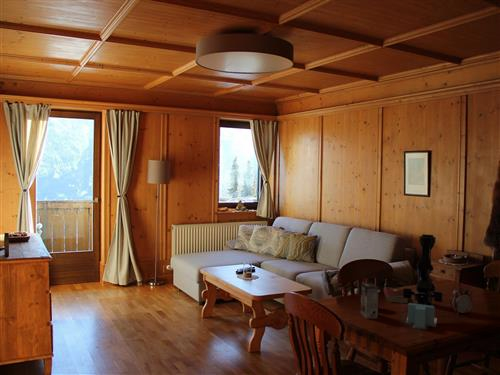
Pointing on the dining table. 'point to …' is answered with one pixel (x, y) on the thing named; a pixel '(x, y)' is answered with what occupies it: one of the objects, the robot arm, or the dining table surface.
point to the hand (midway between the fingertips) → (421, 309)
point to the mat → (425, 325)
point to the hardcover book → (395, 295)
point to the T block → (421, 315)
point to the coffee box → (369, 300)
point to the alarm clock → (461, 300)
